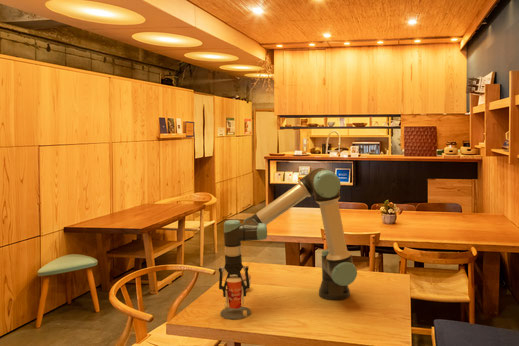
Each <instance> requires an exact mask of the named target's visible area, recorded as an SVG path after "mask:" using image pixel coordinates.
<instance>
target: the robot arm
mask: <svg viewBox="0 0 519 346" xmlns="http://www.w3.org/2000/svg"><path fill="white" fill-rule="evenodd" d="M341 185H342V183H341V180H340V178H339V177H338V175H337V174H336V173H335V172H334V171H333V170H332V171H331V170H329V169H326V168H314V169H313V170H311V171H310V172H308V173H307V174H305V176H303V177H302V178H301V179H299V180H298V182H297V183H296V185H294V186H293V187H291V188H290V189H288V190H287V191H286V192H284V193H283V194H281V195H280V196H278V197H277V198H276V199H274V200H273V201H271V202H270V203H268V204H267V205H265V206H264V207H263V208H261V209H260V210H258V211H257V212H256V213H255V214H253V215H252V216H248V217H246V218H245V219H244V220H243V222H242V223H241V221H240V220H239V219H228V220H226V221H224V223H223V242H224V243H223V244H224V245H223V246H224V263H225V264H224V266H219V267H218V272H219V278H218V279H219V281H218V290H222V296H223V298H225V304H226V305H229V302H228V292H227V281H226V280H227V278H229V277H230V275H237V276H238V278H241V280H242V279H243V278H242V276H241V273H242V270H243V271H244V273H245V276H246V283H247V285H246V286H245V283H244V281H243V280H242V281H241V285H242V287H243V288H242V298H241V305H244V304H245V299H244V298H245V297H247V291H246V289H248V290H249V289H250V286H251V283H249V276H248V274H249V266H248V265H246V266H245V265H243V261H242V242H246V241H247V242H250V241H252V242H253V241H262V240H263V241H265V240H267V238H268V228H267V225H268V224H270V223H271V222H273V221H274V220H276V219H277V218H279V217H280V216H281V215H283V214H285V213H286V212H288V210H290V209H292V208H293V207H294V206H296V205H298V203H300V202H302V201H304V199H305V198H311V197H313V196H314V201H315V203H317V204H318V205H319V209H320V210H319V211H320V214H321V221H322V226H323V230H324V235H325V241H326V246H327V249H324V250H322V251H321V257H320V258H321V277H322V278H321V283H320V285H319V289H318V296H319V297H321V298H323V299H324V300H329V301H341V300H345V299H348V298H349V297H350V296H351V291H350V288H349V285H351V284H352V283H354V281H355V280H356V279H357V276H358V269H357V267H356V265H355V264H354V262H353V256H352V255H353V254H352V253H351V252H350V251H349V250H348V248H347V243H346V238H345V232H344V227H343V222H342V221H343V220H342V216H341V211H340V205H339V200H340V199H341V193H340V190H341ZM224 271H226V272H227V274H226V277H225V281H224V285H223V276H224V275H223V274H224V273H223V272H224Z"/></svg>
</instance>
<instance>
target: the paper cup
mask: <svg viewBox="0 0 519 346" xmlns="http://www.w3.org/2000/svg"><path fill="white" fill-rule="evenodd" d="M225 280H226V279H225ZM242 280H243V279H242ZM242 280H241V278H238V276H237V275H230V277H229V278H227V280H226V281H227V286H226V289H227V292H228V305H229V307H230V308H232V309H237V308H240V307H241V306H242V285H241V281H242Z"/></svg>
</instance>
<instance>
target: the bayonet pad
mask: <svg viewBox="0 0 519 346" xmlns="http://www.w3.org/2000/svg"><path fill="white" fill-rule="evenodd" d="M251 314H252V310H251V309H250V308H249V307H246V306H242V305H241V307H240V308H237V309H232V308H230V307H229V304H228V305H226V303H225V304H224V308H223V309H222V310H221V311H220V316H221V317H222V318H223V319H226V320H233V321H234V320H235V321H236V320H242V319H246V318H248V317H249V316H250V315H251Z"/></svg>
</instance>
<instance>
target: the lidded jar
mask: <svg viewBox="0 0 519 346" xmlns="http://www.w3.org/2000/svg"><path fill="white" fill-rule="evenodd" d="M240 273H241V276H242V278H243V281H244V283H245V286H246V285H247V283H246V276H245V272H240ZM248 276H249V283H250V284H251V282H252V280H251V279H252V275H251V274H249V273H248ZM242 288H243V287H242ZM248 290H249V289H246V292H248Z"/></svg>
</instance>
